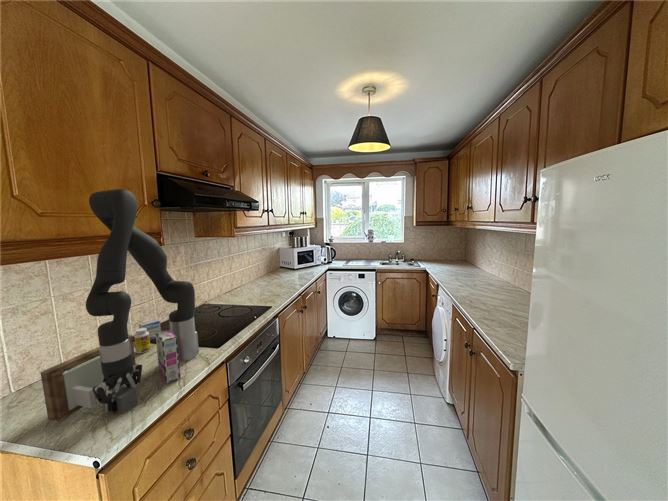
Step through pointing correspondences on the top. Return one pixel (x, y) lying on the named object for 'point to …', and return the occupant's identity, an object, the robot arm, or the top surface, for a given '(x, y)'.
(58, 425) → the top surface
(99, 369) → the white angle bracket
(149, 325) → the medicine box
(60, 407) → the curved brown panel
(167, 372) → the candy bar box
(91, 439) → the top surface
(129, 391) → the block
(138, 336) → the supplement bottle
